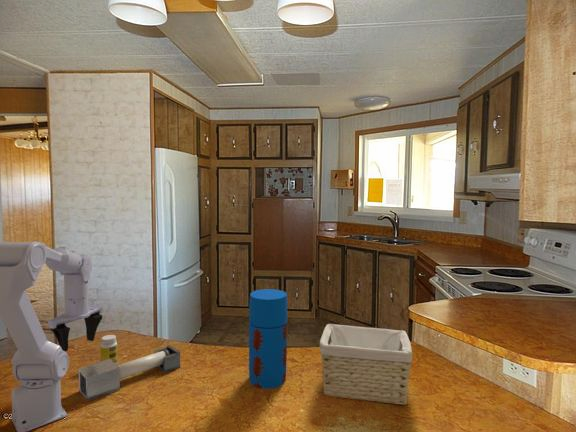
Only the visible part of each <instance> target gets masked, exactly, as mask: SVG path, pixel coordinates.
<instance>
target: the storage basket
mask: <svg viewBox="0 0 576 432" xmlns="http://www.w3.org/2000/svg"><path fill="white" fill-rule="evenodd" d="M322 332H323V333H322V334H321V337H320V340H319V353H320V355H321V363H322V364H321V366H322V370H321V372H322V381H323V394H324V395H325V396H329V397H333V398H344V399H352V400H360V401H370V402H374V401H377V402H378V403H379V402H380V403H383V404H384V403H385V404H394V405H407V403H408V402H407V400H408V389H409V380H410V372H411V371H410V370H411V364H412V363H411V362H413V351H412V350H413V349H412V344H411V341H410V339H409V336H408V334H407V331H405V330H403V329H401V330H398V329H397V330H396V329H390V328H389V329H388V328H379V327H365V326H354V325H345V324H333V323H328V324H326V326H325V327H324V329H323V331H322ZM377 402H376V403H377Z"/></svg>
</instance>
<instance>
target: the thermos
mask: <svg viewBox="0 0 576 432" xmlns="http://www.w3.org/2000/svg"><path fill="white" fill-rule="evenodd" d="M287 294H288V293H287V292H286V291H283V290H280V289H275V288H273V289H270V288H269V289H268V288H265V289H257V290H254V291H252V292H250V294H249V295H250V296H249V301H248V302H249V304H248V305H249V306H248V308H249V309H248V310H249V311H248V313H249V314H248V315H249V318H248V320H249V324H248V376H249V382H250V385H252V386H253V387H255V388H259V389H262V390H263V389H264V390H269V389H270V390H271V389H276V388H279V387H281V386H283V385H284V384H285V382H286V380H287V364H288V363H287V355H288V353H287V352H288V350H287V349H288V348H287V347H288V345H287V343H288V295H287Z"/></svg>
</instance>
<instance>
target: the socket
mask: <svg viewBox="0 0 576 432" xmlns="http://www.w3.org/2000/svg"><path fill="white" fill-rule="evenodd" d="M165 349H167V350H168V351H169V354H170V355H168V356H165V357H163V365H160V366H157V367H156V368H157V369H158V370H159V371H162V372H163V373H164V374H166V373H169V372H172V371H174V369H175V370H176V369H180V368H181V351H180V350H178V349H177V348H176V347H174V346H172V345H171V344H167V345H166V347H161V348H159V349H157V350H156V349H155V350H154V351H153V354H154V353H158V352H161V351H162V350H165Z"/></svg>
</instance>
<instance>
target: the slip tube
mask: <svg viewBox="0 0 576 432" xmlns="http://www.w3.org/2000/svg"><path fill="white" fill-rule="evenodd" d="M168 355H170V354H169V351H168V350H167V349H165V350H162V351H161V352H158V353H154V352H153V353H152V354H149V355H146V356H142V357H139V358H136V359H133V360H129V361H127V362H124V363H120V364H116V365H117V366H118V367H119V370H120V380H123V379H124V378H128V377H131V376H134V375H136V374H139V373H142V372H145V371H148V370H150V369H153V368H158V367H157V366H160V365H163V357H165V356H168Z"/></svg>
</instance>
